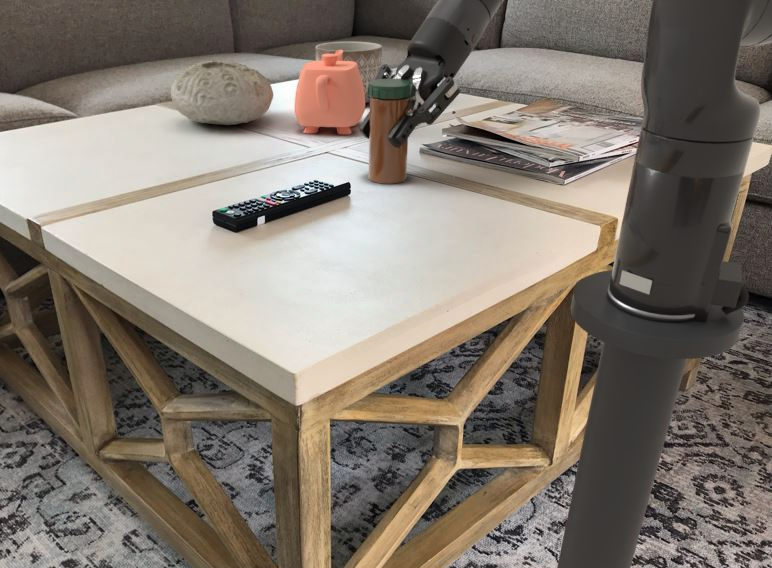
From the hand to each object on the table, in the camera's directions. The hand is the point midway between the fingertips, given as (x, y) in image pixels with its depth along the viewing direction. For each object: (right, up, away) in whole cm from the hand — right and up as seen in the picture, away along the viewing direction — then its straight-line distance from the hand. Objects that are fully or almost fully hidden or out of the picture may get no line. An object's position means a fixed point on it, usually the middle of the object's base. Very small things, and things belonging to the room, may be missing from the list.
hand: (378, 139), depth 98 cm
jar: (+2, -4, +4) cm, 6 cm away
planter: (-2, +20, +47) cm, 51 cm away
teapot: (-6, +10, +30) cm, 32 cm away
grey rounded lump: (-25, +12, +33) cm, 43 cm away
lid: (+1, +6, -2) cm, 7 cm away
